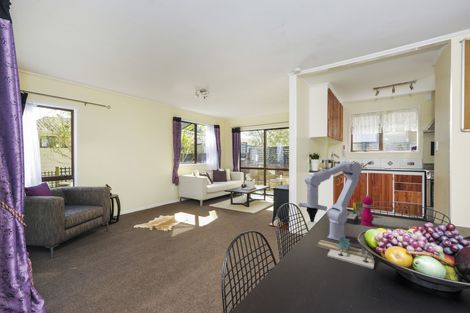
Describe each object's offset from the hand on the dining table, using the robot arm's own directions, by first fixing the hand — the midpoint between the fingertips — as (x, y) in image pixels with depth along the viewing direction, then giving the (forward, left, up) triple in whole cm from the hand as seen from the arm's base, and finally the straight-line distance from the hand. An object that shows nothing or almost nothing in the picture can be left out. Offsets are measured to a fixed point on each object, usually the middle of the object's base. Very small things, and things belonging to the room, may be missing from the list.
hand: (312, 221), depth 117 cm
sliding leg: (+6, +16, -9) cm, 20 cm away
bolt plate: (+10, +20, -10) cm, 25 cm away
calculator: (-51, +10, -11) cm, 53 cm away
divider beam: (+5, +17, -10) cm, 20 cm away
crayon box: (-67, +15, -11) cm, 69 cm away
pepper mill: (-47, +22, -11) cm, 53 cm away
